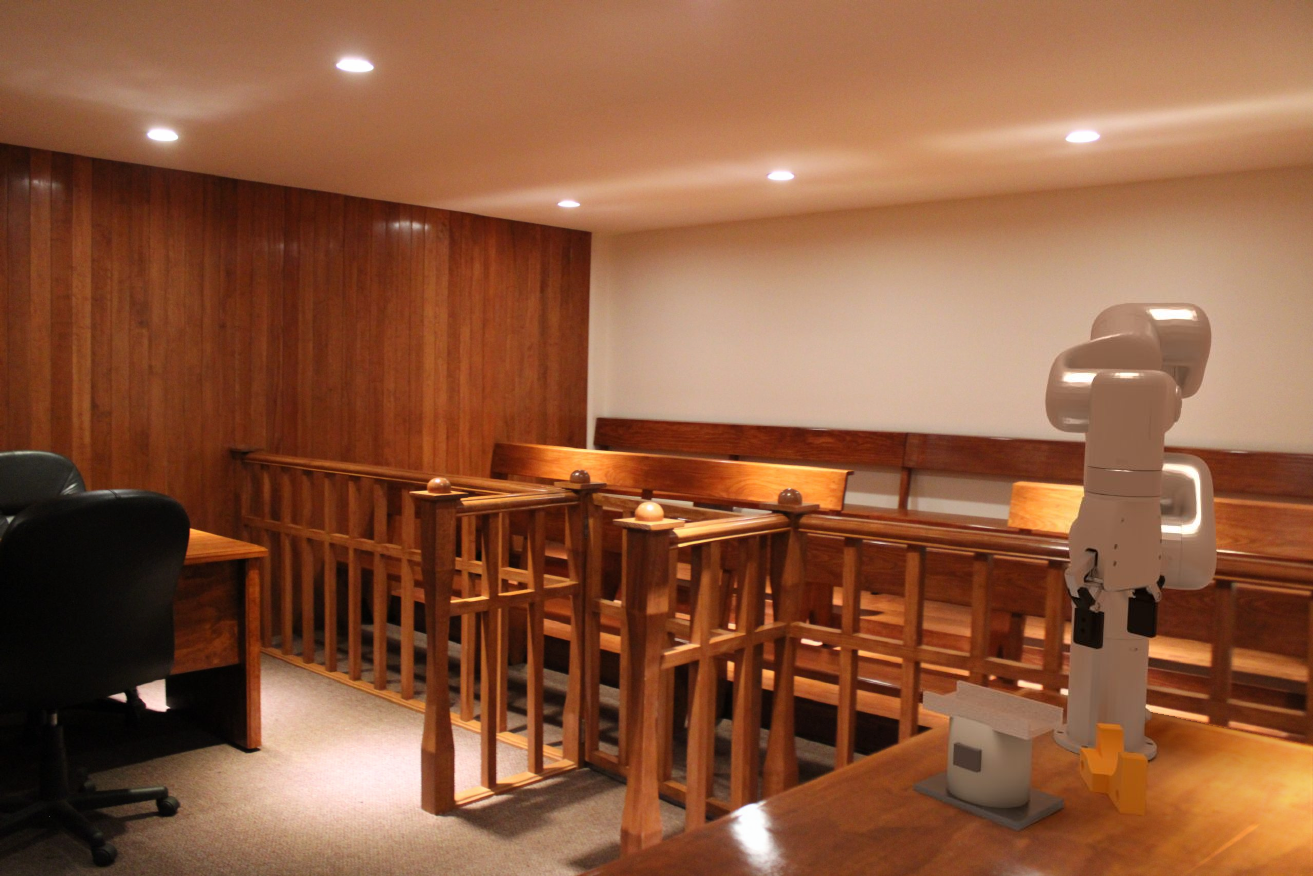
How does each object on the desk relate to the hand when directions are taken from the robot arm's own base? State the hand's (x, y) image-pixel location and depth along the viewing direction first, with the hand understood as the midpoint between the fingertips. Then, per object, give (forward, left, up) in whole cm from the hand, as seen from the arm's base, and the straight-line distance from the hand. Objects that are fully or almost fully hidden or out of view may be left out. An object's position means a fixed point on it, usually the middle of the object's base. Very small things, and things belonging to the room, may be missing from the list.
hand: (1115, 640), depth 111 cm
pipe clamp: (-7, -3, -20) cm, 22 cm away
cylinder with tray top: (+7, -11, -20) cm, 23 cm away
